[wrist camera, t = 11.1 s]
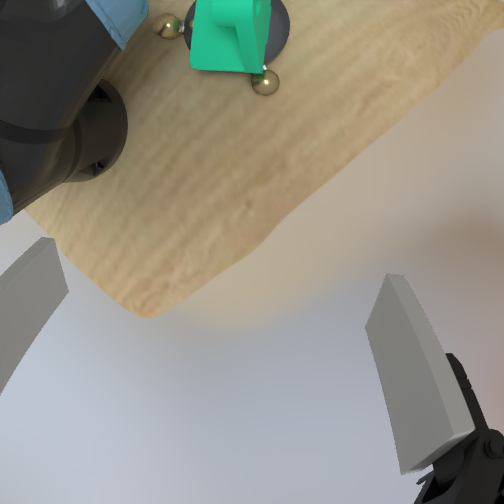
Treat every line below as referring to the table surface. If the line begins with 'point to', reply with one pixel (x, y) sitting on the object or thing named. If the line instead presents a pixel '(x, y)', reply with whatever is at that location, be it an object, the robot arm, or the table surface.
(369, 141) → the table surface
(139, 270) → the table surface
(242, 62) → the camera mount
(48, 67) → the robot arm
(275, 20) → the plate
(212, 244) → the table surface
